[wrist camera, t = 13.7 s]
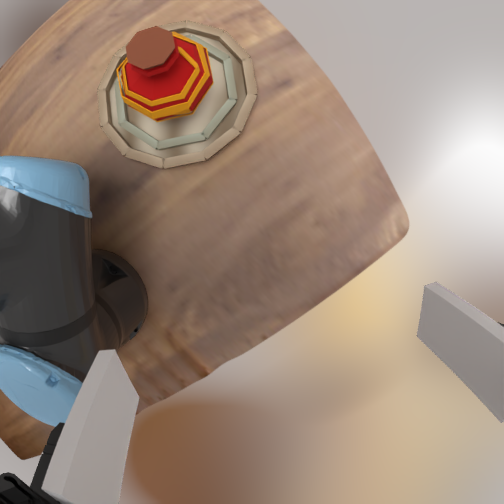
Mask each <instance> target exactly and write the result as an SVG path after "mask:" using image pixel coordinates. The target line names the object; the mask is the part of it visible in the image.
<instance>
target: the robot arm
mask: <svg viewBox="0 0 504 504" xmlns="http://www.w3.org/2000/svg"><path fill="white" fill-rule="evenodd" d="M91 218H92V212H91V211H90V199H89V178H88V175H87V173H86V171H85V170H84V169H83V168H82V167H81V166H80V165H78V164H76V163H73V162H68V161H62V160H55V159H47V158H37V157H24V156H0V389H1V390H2V391H3V392H4V393H5V395H6V396H7V397H8V398H9V399H10V400H11V401H12V402H13V403H15V404H16V405H17V406H18V407H19V408H21V409H22V410H23V411H25V412H26V413H28V414H29V415H31V416H32V417H34V418H36V419H38V420H40V421H42V422H44V423H46V424H49V425H52V426H55V428H54V429H53V430H52V431H51V433H50V436H49V438H48V441H47V445H45V448H44V450H43V454H42V456H41V458H40V461H39V463H38V466H37V469H36V472H35V474H34V477H33V480H32V483H31V485H30V487H29V486H27V485H26V484H25V483H24V482H23V481H22V480H20V479H19V478H18V477H17V476H16V475H15V474H12V473H3V474H1V475H0V504H119V499H120V492H121V486H122V480H123V473H124V468H125V463H126V457H127V452H128V446H129V442H130V437H131V432H132V428H133V423H134V419H135V414H136V410H137V406H138V401H139V396H138V394H137V392H136V390H135V389H134V387H133V385H132V383H131V381H130V379H129V377H128V375H127V373H126V371H125V369H124V367H123V365H122V363H121V361H120V359H119V357H118V355H117V352H118V349H119V348H120V347H121V346H123V345H124V344H125V343H127V342H128V341H129V340H131V339H132V338H133V337H134V336H135V335H136V334H137V333H138V332H139V330H140V329H141V327H142V325H143V322H144V320H145V317H146V314H147V309H148V299H147V293H146V289H145V287H144V284H143V282H142V280H141V278H140V277H139V275H138V274H137V272H136V271H135V270H134V268H133V267H132V266H131V265H130V264H129V263H128V262H126V261H125V260H124V259H122V258H121V257H119V256H118V255H116V254H114V253H111V252H108V251H105V250H100V249H91ZM417 337H418V338H419V339H420V340H421V341H422V342H423V343H424V344H425V345H426V346H427V347H428V348H429V349H431V350H432V352H434V353H435V354H436V355H437V356H438V357H439V358H440V359H441V360H442V361H443V362H444V363H445V364H446V365H447V366H448V367H449V368H450V369H451V370H452V371H453V372H454V373H455V374H456V375H457V376H458V377H459V378H460V379H461V380H462V382H463V383H464V384H466V386H467V387H468V388H469V389H470V390H471V391H472V392H473V393H474V394H475V395H476V396H477V397H478V398H479V399H480V400H481V401H482V403H484V404H485V405H486V407H487V408H488V409H489V410H490V411H491V412H492V413H493V414H494V416H495V417H496V418H497V419H498V420H499V421H500V422H501V423H502V422H503V421H504V324H501V323H499V322H496V321H494V320H493V319H491V318H490V317H489V316H487V315H486V314H484V313H483V312H482V311H480V310H479V309H477V308H475V307H474V306H473V305H471V304H470V303H468V302H467V301H465V300H464V299H462V298H461V297H459V296H458V295H456V294H455V293H453V292H452V291H450V290H448V289H447V288H445V287H444V286H442V285H441V284H439V283H437V282H434V283H431V284H428V285H425V286H424V294H423V301H422V309H421V315H420V321H419V326H418V332H417Z"/></svg>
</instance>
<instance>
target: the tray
mask: <svg viewBox="0 0 504 504" xmlns="http://www.w3.org/2000/svg"><path fill="white" fill-rule="evenodd" d="M158 27H160V28H163V29H165V30H168V31H170V32H176V33H179V34H181V35H183V36H185V37H187V38H189V39H191V40H193V41H195V42H197V43H199V44H201V45H202V46H204V47H206V48H207V51H208V56H209V61H210V66H211V71H212V76H213V81H214V83H213V85H212V86H211V88H210V89H209V91H208V92H207V94H206V95H205V97H204V98H203V100H202V101H201V103H200V104H199V106H198V107H197V109H196V111H195V112H194V114H192V115H187V116H182V117H178V118H173V119H169V120H165V121H161V122H156V121H154V120H152V119H151V118H149V117H147V116H145V115H143V114H142V113H140V112H138V111H136V110H134V109H132V108H131V107H129V106H128V104H126V103H124V101H123V99H122V97H121V93H120V87H119V81H118V77H117V68H118V67H119V66H120V65H121V63H122V62H123V61H124V60H125V59H126V57H127V54H126V46H127V45H128V43H127V44H126V45H125V46H124V47H122V48H121V49H120V50H119V51H118V52H116V53H115V55H116V56H115V55H113V57H112V59H111V61H110V63H109V65H108V67H107V69H106V72H105V74H104V76H103V78H102V80H101V82H100V85H99V87H98V90H99V91H97V97H98V110H99V120H100V127H102V128H101V129H102V130H103V131H104V133H105V134H106V135H107V136H108V138H109V139H110V140H111V141H112V143H113V144H114V145H115V146H116V147H117V149H118V150H119V151H120V152H121V154H122V155H123V156H125V157H127V158H130V159H133V160H137V161H140V162H143V163H146V164H149V165H152V166H155V167H158V168H162V169H163V168H164V169H166V168H171V167H176V166H180V165H187V164H190V163H196V162H201V161H206V160H205V158H206V159H207V160H208V159H209V158H210V157H211V156H213V155H214V154H215V153H216V152H218V151H219V150H220V149H222V148H223V147H224V146H226V145H227V144H228V143H229V142H230V141H232V140H233V139H234V138H236V137H237V136H238V135H240V133H241V132H242V130H243V127H244V125H245V123H246V120H247V118H248V116H249V113H250V111H251V109H252V106H253V104H254V102H255V100H256V97H257V88H256V82H255V76H254V70H253V64H252V58H250V57H251V56H250V55H249V54H248V53H247V52H246V51H245V50H244V49H243V48H242V47H241V46H240V45H239V44H238V43H237V42H236V41H235V40H234V39H233V38H232V37H231V36H230V35H229V34H228V33H227V32H226V31H225V32H224V30H222V29H219V28H215V27H212V26H208V25H204V24H200V23H196V22H192V21H187V23H186V21H180V22H175V23H170V24H166V25H161V26H158ZM121 70H122V67H121V69H120V70H119V72H118V73H119V79H120V83H121V87H122V91H123V95H124V97H125V93H124V89H123V85H122V82H121V78H120V76H121ZM191 112H192V111H191ZM186 114H188V113H186ZM180 115H184V114H180ZM180 115H176V116H180ZM173 117H175V116H173ZM169 118H171V117H169ZM166 119H167V118H166ZM162 120H164V119H162Z"/></svg>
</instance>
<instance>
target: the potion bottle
mask: <svg viewBox="0 0 504 504" xmlns="http://www.w3.org/2000/svg"><path fill="white" fill-rule="evenodd" d="M126 54H127V57H126V59H125V60H124V61H123V62H122V63H121V65H120V66H119V67H118V68H117V77H118V81H119V87H120V93H121V97H122V99H123V101H124V103H126V104H128V106H129V107H131V108H132V109H134V110H136V111H138V112H140V113H142V114H143V115H145V116H147V117H149V118H151V119H152V120H154V121H156V122H161V121H165V120H169V119H173V118H178V117H182V116H187V115H192V114H194V112H195V111H196V109H197V107H198V106H199V104H200V103H201V101H202V100H203V98H204V97H205V95H206V94H207V92H208V91H209V89H210V88H211V86H212V85H213V83H214V81H213V76H212V71H211V66H210V61H209V56H208V51H207V48H206V47H204V46H202V45H201V44H199V43H197V42H195V41H193V40H191V39H189V38H187V37H185V36H183V35H181V34H179V33H176V32H170V31H168V30H165V29H163V28H160V27H158V26H155V27H152V28H148V29H145V30H142V31H139V32H137V33H136V34H135V36H134V37H133V38H132V39H131V41H130V42H129V43H128V45H127V46H126ZM121 67H122V70H121V76H120V78H121V82H122V85H123V89H124V93H125V97H124V95H123V91H122V87H121V83H120V79H119V73H118V72H119V70H120V69H121ZM191 111H192V112H191ZM186 113H188V114H186ZM180 114H184V115H180ZM176 115H180V116H176ZM173 116H175V117H173ZM169 117H171V118H169ZM166 118H167V119H166ZM162 119H164V120H162Z"/></svg>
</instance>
